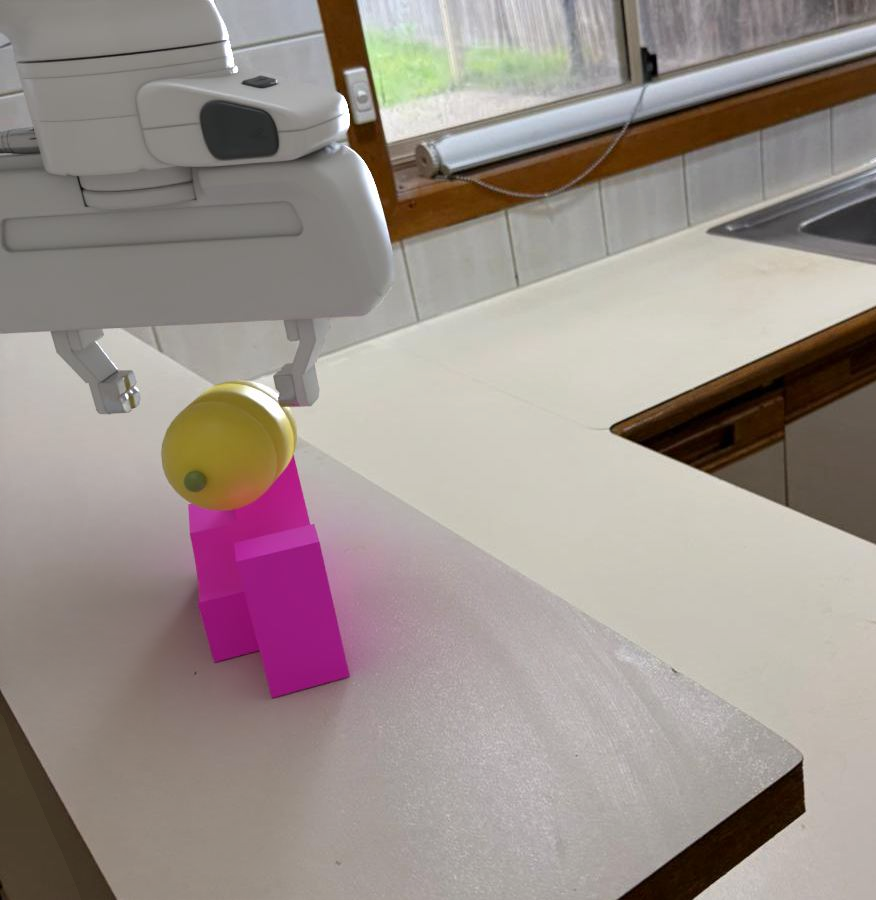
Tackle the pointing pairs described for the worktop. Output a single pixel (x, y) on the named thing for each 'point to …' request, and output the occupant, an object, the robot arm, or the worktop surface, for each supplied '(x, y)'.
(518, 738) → the worktop surface
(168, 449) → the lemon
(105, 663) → the worktop surface
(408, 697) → the worktop surface
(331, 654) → the toy block
